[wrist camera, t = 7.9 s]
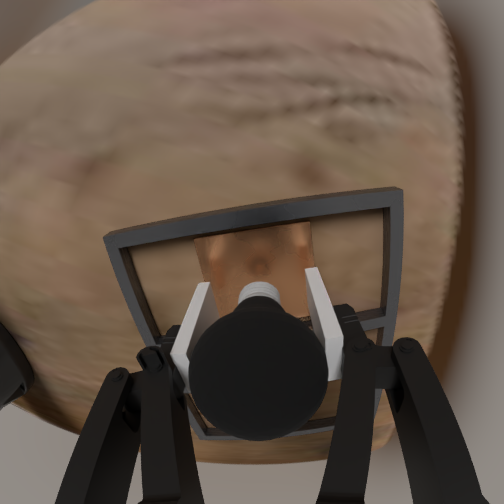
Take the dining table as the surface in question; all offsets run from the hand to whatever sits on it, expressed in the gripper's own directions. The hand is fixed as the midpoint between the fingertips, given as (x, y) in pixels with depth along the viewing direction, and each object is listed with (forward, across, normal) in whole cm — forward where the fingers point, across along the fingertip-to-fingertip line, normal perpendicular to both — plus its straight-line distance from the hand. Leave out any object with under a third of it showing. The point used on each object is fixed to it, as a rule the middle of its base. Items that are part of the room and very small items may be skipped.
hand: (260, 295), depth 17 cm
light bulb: (+1, 0, 0) cm, 1 cm away
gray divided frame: (+2, 0, -7) cm, 8 cm away
